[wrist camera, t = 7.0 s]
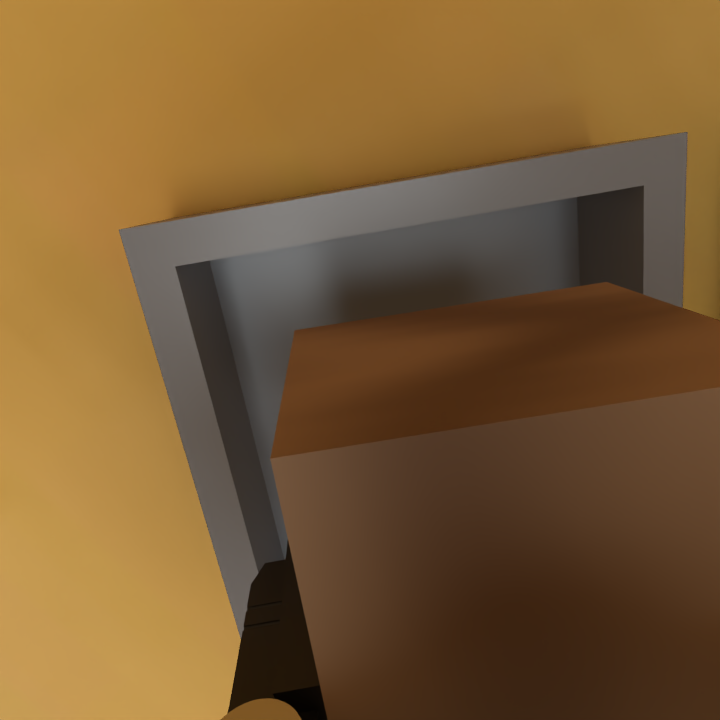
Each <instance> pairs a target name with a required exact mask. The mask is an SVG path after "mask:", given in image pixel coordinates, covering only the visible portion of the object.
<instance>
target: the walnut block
mask: <svg viewBox="0 0 720 720" xmlns="http://www.w3.org/2000/svg"><path fill="white" fill-rule="evenodd" d="M270 460H271V464H272V469H273V473H274V478H275V482H276V487H277V492H278V496H279V501H280V505H281V510H282V514H283V519H284V523H285V528H286V533H287V537H288V542H289V546H290V551H291V555H292V560H293V564H294V569H295V574H296V578H297V583H298V587H299V592H300V596H301V601H302V605H303V610H304V615H305V619H306V624H307V628H308V633H309V637H310V642H311V646H312V651H313V656H314V660H315V665H316V669H317V674H318V678H319V683H320V687H321V692H322V697H323V701H324V706H325V710H326V715H327V719H328V720H720V321H719V320H716V319H713V318H710V317H707V316H704V315H702V314H699V313H696V312H693V311H690V310H687V309H684V308H681V307H678V306H675V305H672V304H670V303H667V302H664V301H661V300H658V299H655V298H652V297H649V296H646V295H643V294H640V293H638V292H635V291H632V290H629V289H626V288H623V287H620V286H617V285H614V284H611V283H608V282H603V283H597V284H590V285H584V286H577V287H571V288H564V289H558V290H551V291H545V292H538V293H532V294H525V295H519V296H512V297H506V298H500V299H493V300H487V301H480V302H474V303H467V304H461V305H454V306H448V307H441V308H435V309H428V310H422V311H415V312H409V313H403V314H396V315H390V316H383V317H377V318H370V319H364V320H357V321H351V322H344V323H338V324H331V325H325V326H318V327H312V328H306V329H299V330H295V331H294V336H293V342H292V347H291V352H290V357H289V363H288V368H287V373H286V379H285V384H284V389H283V394H282V400H281V405H280V410H279V415H278V421H277V426H276V431H275V436H274V442H273V447H272V452H271V457H270Z"/></svg>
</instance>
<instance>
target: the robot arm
mask: <svg viewBox="0 0 720 720" xmlns="http://www.w3.org/2000/svg"><path fill="white" fill-rule="evenodd" d="M221 720H328V719H327V715H326V710H325V706H324V701H323V697H322V692H321V687H320V683H319V678H318V674H317V669H316V665H315V660H314V656H313V651H312V646H311V642H310V637H309V633H308V628H307V624H306V619H305V615H304V610H303V605H302V601H301V596H300V592H299V587H298V583H297V578H296V574H295V569H294V564H293V560H292V555H291V551H290V546H289V542H287V552H286V559H285V560H279V561H274V562H268V563H265V564H264V565H263V567H262V568H261V570H260V571H259V573H258V574H257V576H256V577H255V579H254V580H253V582H252V583H251V587H250V592H249V598H248V603H247V611H246V615H245V620H244V631H243V632H242V637H241V643H240V649H239V654H238V660H237V666H236V671H235V677H234V683H233V688H232V694H231V700H230V705H229V710H228V713H227V715H225V716H224V717H223V718H222V719H221Z"/></svg>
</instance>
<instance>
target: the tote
mask: <svg viewBox="0 0 720 720" xmlns="http://www.w3.org/2000/svg"><path fill="white" fill-rule="evenodd" d="M686 167H687V132H684V133H677V134H670V135H663V136H656V137H650V138H643V139H636V140H629V141H622V142H615V143H608V144H602V145H595V146H589V147H583V148H577V149H571V150H565V151H560V152H554V153H548V154H542V155H536V156H531V157H525V158H519V159H513V160H507V161H501V162H496V163H490V164H484V165H478V166H472V167H467V168H461V169H455V170H449V171H443V172H438V173H432V174H426V175H420V176H414V177H409V178H403V179H397V180H391V181H385V182H380V183H374V184H368V185H362V186H356V187H350V188H345V189H339V190H333V191H327V192H321V193H316V194H310V195H304V196H298V197H292V198H287V199H281V200H275V201H269V202H263V203H258V204H252V205H246V206H240V207H234V208H229V209H223V210H217V211H211V212H205V213H199V214H194V215H188V216H182V217H176V218H171V219H166V220H162V221H157V222H153V223H148V224H144V225H139V226H134V227H130V228H125V229H121V230H119V232H120V236H121V239H122V242H123V246H124V249H125V252H126V256H127V259H128V262H129V266H130V269H131V273H132V276H133V279H134V283H135V286H136V289H137V293H138V296H139V299H140V303H141V306H142V309H143V313H144V316H145V319H146V323H147V326H148V329H149V333H150V336H151V339H152V343H153V346H154V350H155V353H156V356H157V360H158V363H159V366H160V370H161V373H162V376H163V380H164V383H165V386H166V390H167V393H168V396H169V400H170V403H171V406H172V410H173V413H174V416H175V420H176V423H177V427H178V430H179V433H180V437H181V440H182V443H183V447H184V450H185V453H186V457H187V460H188V463H189V467H190V470H191V473H192V477H193V480H194V483H195V487H196V490H197V494H198V497H199V500H200V504H201V507H202V510H203V514H204V517H205V520H206V524H207V527H208V530H209V534H210V537H211V540H212V544H213V547H214V550H215V554H216V557H217V560H218V564H219V567H220V571H221V574H222V577H223V581H224V584H225V587H226V591H227V594H228V597H229V601H230V604H231V607H232V611H233V614H234V617H235V621H236V624H237V627H238V631H239V634H240V637H242V632H243V631H244V620H245V615H246V611H247V603H248V598H249V592H250V587H251V583H252V582H253V580H254V579H255V577H256V576H257V574H258V573H259V571H260V570H261V568H262V567H263V565H264V564H265V563H268V562H274V561H279V560H285V559H286V552H287V542H288V537H287V533H286V528H285V523H284V519H283V514H282V510H281V505H280V501H279V496H278V492H277V487H276V482H275V478H274V473H273V469H272V464H271V460H270V457H271V452H272V447H273V442H274V436H275V431H276V426H277V421H278V415H279V410H280V405H281V400H282V394H283V389H284V384H285V379H286V373H287V368H288V363H289V357H290V352H291V347H292V342H293V336H294V331H295V330H299V329H306V328H312V327H318V326H325V325H331V324H338V323H344V322H351V321H357V320H364V319H370V318H377V317H383V316H390V315H396V314H403V313H409V312H415V311H422V310H428V309H435V308H441V307H448V306H454V305H461V304H467V303H474V302H480V301H487V300H493V299H500V298H506V297H512V296H519V295H525V294H532V293H538V292H545V291H551V290H558V289H564V288H571V287H577V286H584V285H590V284H597V283H603V282H608V283H611V284H614V285H617V286H620V287H623V288H626V289H629V290H632V291H635V292H638V293H640V294H643V295H646V296H649V297H652V298H655V299H658V300H661V301H664V302H667V303H670V304H672V305H675V306H678V307H681V308H682V306H683V271H684V236H685V201H686Z"/></svg>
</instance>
